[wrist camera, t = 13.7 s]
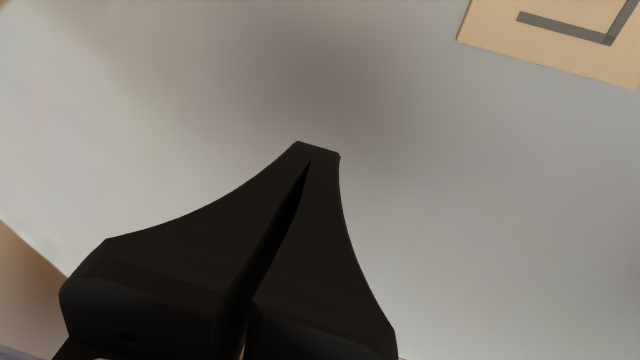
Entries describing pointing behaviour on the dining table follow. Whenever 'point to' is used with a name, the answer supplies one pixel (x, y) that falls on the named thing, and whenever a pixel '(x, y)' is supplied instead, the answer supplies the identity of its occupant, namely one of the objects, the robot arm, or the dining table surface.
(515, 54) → the sketch pad
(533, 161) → the dining table surface
